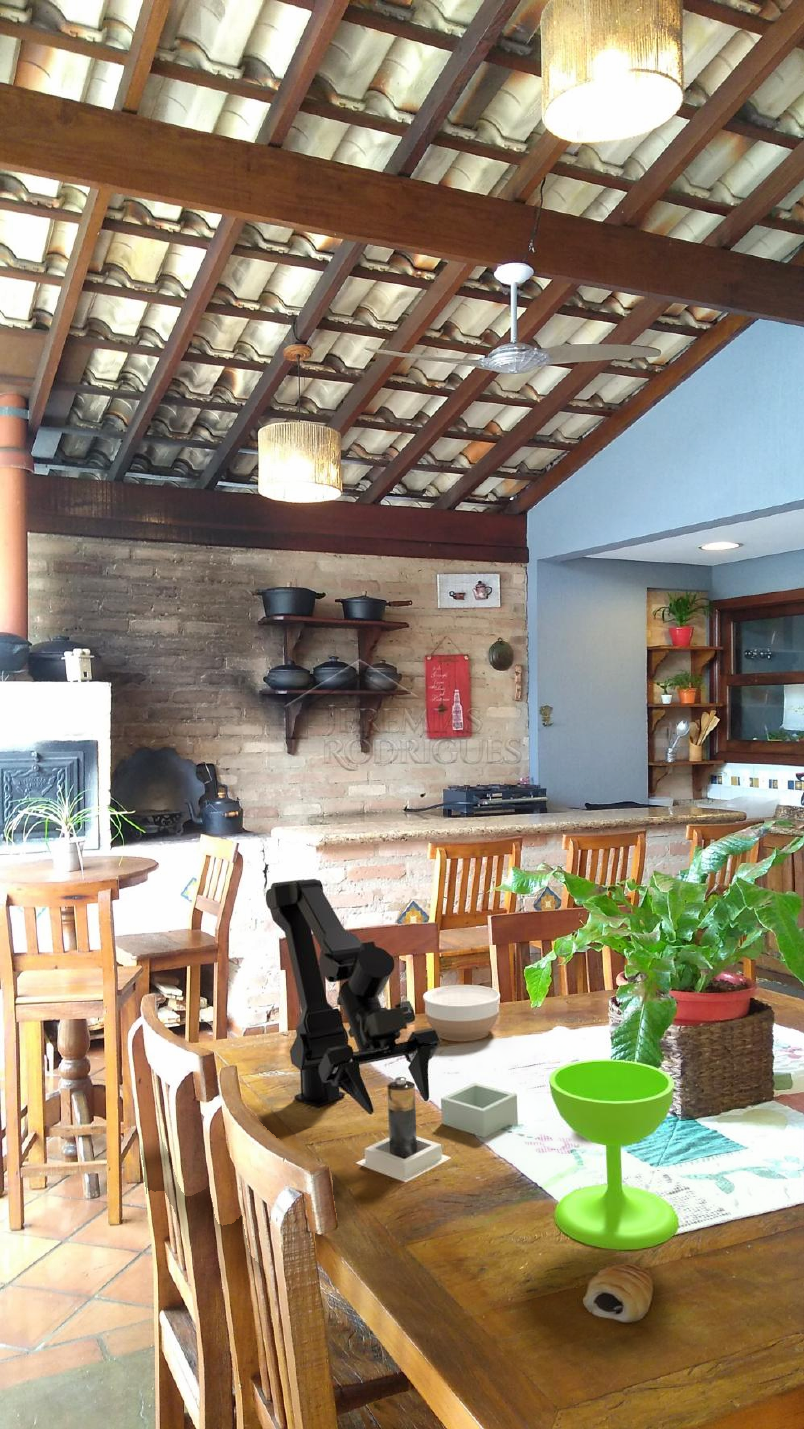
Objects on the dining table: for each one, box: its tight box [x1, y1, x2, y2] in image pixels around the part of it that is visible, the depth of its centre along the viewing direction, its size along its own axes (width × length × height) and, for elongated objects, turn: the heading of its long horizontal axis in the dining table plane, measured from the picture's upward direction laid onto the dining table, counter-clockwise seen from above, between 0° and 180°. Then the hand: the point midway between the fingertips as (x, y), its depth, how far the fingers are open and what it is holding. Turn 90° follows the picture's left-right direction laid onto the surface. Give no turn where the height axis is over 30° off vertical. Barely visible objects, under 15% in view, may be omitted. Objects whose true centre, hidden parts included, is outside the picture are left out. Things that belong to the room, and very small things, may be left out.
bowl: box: [422, 984, 501, 1042], centre depth 215 cm, size 16×16×8 cm
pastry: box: [582, 1262, 654, 1323], centre depth 117 cm, size 9×7×4 cm
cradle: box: [355, 1135, 452, 1183], centre depth 153 cm, size 10×10×3 cm
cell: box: [386, 1076, 417, 1159], centre depth 153 cm, size 4×4×12 cm
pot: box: [440, 1082, 519, 1138], centre depth 166 cm, size 9×9×5 cm
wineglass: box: [548, 1059, 680, 1251], centre depth 136 cm, size 16×16×18 cm
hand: (399, 1106), depth 153 cm, fingers open, 9 cm apart
